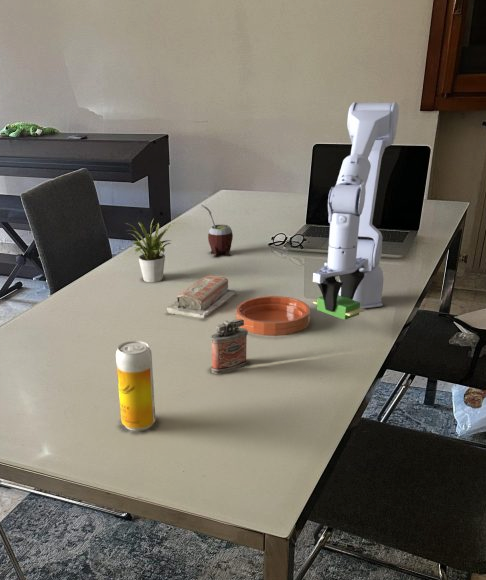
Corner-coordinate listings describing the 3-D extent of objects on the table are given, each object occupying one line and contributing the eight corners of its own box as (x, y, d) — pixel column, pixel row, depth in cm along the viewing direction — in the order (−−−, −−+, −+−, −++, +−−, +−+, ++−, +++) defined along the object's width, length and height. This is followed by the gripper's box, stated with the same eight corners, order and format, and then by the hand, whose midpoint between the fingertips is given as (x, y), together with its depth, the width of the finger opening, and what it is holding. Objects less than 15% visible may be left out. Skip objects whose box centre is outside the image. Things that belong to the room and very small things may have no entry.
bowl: (293, 306, 176) (294, 292, 174) (320, 332, 162) (321, 317, 160) (227, 315, 174) (227, 301, 172) (249, 342, 159) (249, 327, 158)
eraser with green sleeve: (326, 303, 163) (327, 291, 161) (363, 316, 155) (364, 303, 154) (312, 308, 161) (313, 296, 159) (349, 321, 153) (350, 309, 152)
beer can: (120, 417, 134) (114, 341, 127) (154, 414, 134) (149, 338, 127) (122, 433, 129) (116, 356, 121) (157, 430, 129) (152, 352, 122)
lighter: (216, 375, 146) (216, 329, 141) (207, 369, 149) (207, 323, 144) (250, 365, 149) (251, 319, 144) (241, 359, 152) (241, 314, 147)
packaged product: (200, 271, 187) (236, 276, 182) (200, 289, 189) (236, 294, 185) (165, 295, 174) (203, 300, 169) (166, 314, 176) (204, 320, 172)
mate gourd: (236, 252, 215) (236, 200, 208) (224, 259, 209) (224, 206, 202) (214, 249, 219) (213, 198, 211) (201, 256, 213) (200, 204, 206)
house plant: (113, 286, 196) (108, 224, 188) (133, 269, 207) (129, 211, 199) (163, 290, 191) (160, 227, 183) (181, 273, 202) (179, 213, 194)
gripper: (352, 233, 157) (347, 294, 164) (303, 248, 150) (300, 310, 157) (378, 240, 152) (372, 302, 159) (329, 255, 145) (325, 320, 152)
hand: (338, 307), depth 158 cm, fingers closed on eraser with green sleeve, 4 cm apart
